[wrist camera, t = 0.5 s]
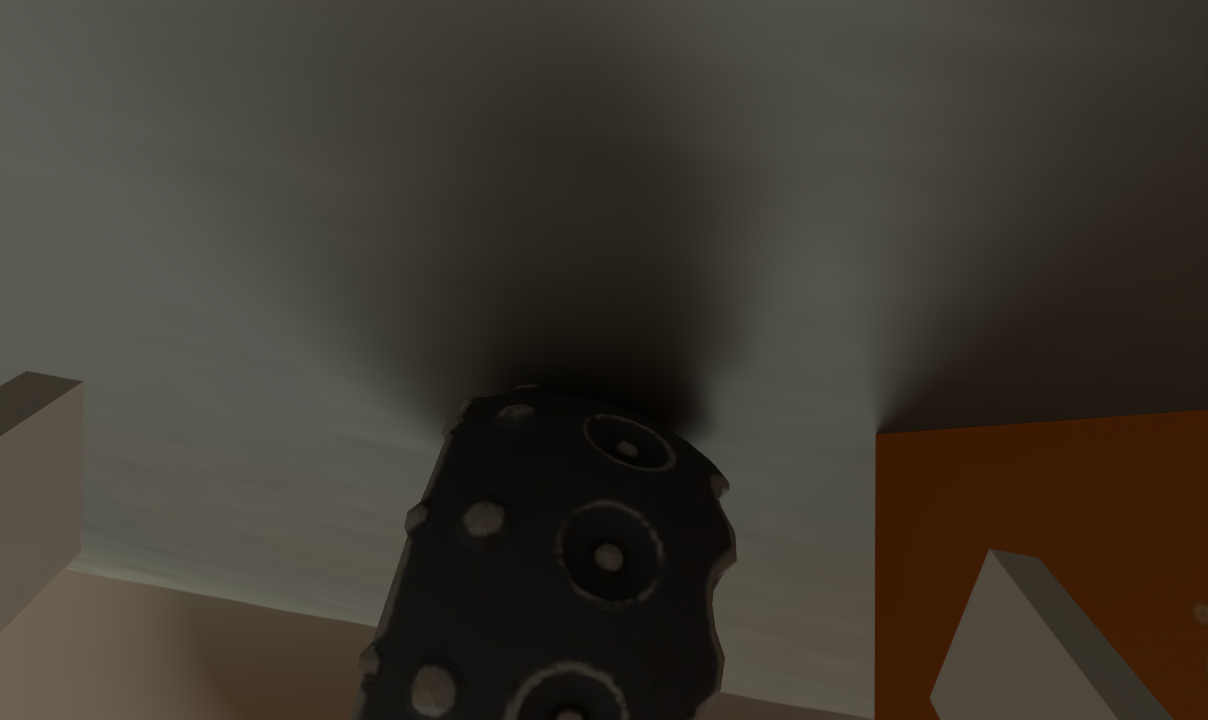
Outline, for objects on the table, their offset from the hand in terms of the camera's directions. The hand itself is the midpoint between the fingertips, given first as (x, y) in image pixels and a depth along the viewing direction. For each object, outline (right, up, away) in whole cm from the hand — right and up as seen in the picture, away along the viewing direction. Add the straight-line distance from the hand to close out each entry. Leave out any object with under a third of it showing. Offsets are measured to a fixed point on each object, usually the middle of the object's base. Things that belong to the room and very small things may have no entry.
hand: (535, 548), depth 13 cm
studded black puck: (0, -1, +28) cm, 28 cm away
